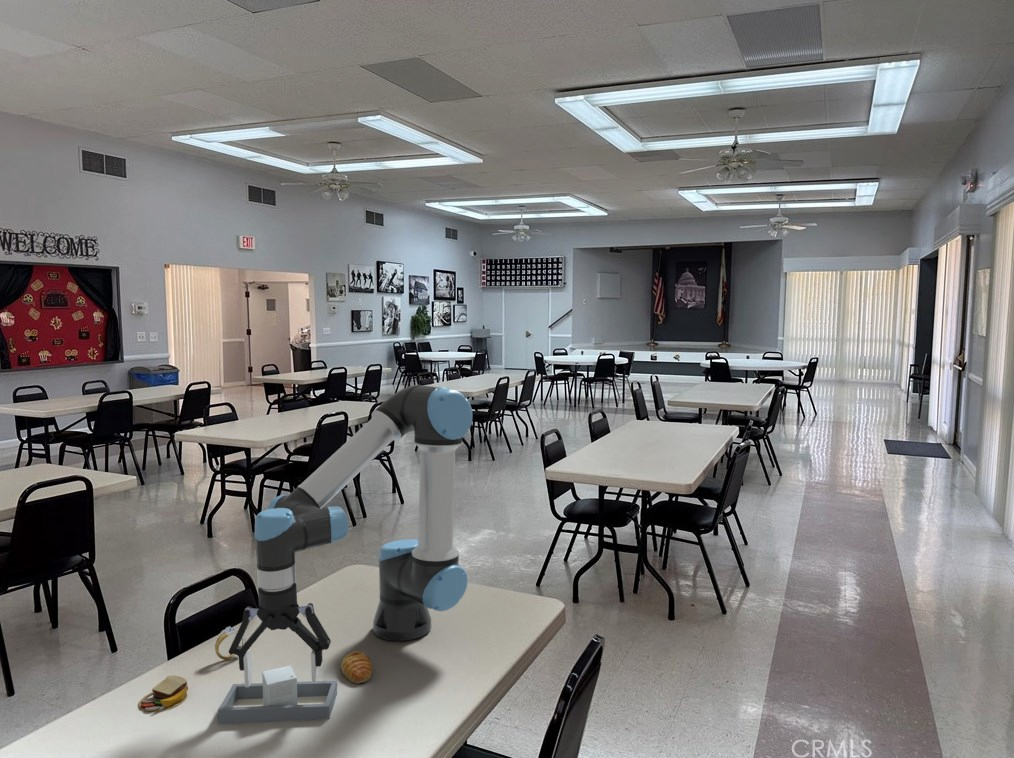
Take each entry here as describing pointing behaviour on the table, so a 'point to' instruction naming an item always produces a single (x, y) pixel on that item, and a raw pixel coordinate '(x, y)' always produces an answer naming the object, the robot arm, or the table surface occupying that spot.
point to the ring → (221, 638)
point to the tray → (250, 708)
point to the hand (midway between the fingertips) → (282, 682)
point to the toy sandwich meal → (165, 695)
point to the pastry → (357, 667)
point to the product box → (279, 687)
